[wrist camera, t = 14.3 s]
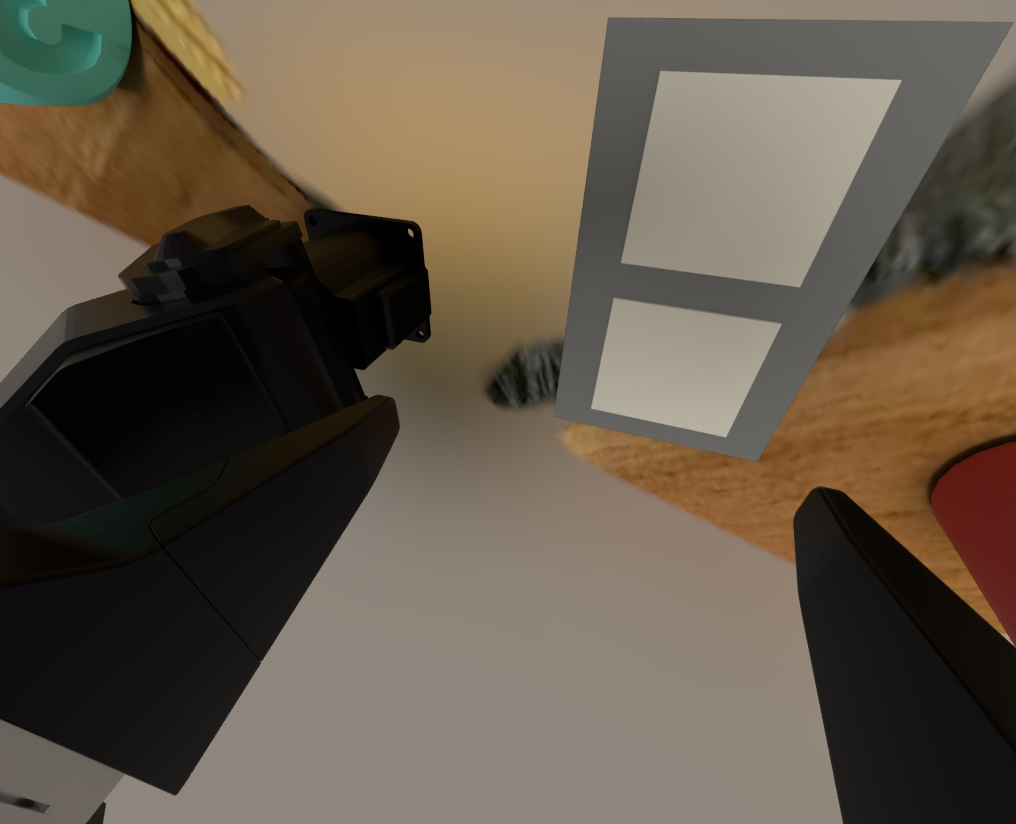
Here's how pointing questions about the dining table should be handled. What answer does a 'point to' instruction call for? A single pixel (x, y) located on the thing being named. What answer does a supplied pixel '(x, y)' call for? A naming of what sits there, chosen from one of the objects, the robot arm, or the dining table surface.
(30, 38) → the decorative dice
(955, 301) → the dining table surface
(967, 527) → the beer can
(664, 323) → the label board
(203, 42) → the dining table surface
